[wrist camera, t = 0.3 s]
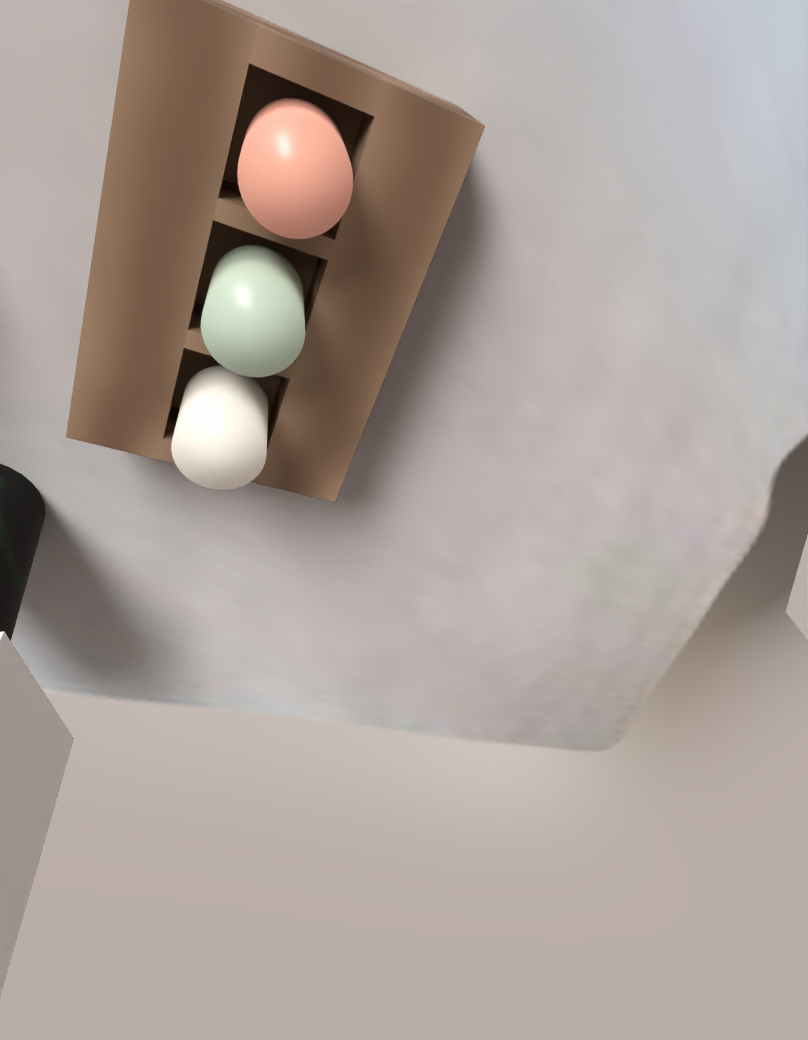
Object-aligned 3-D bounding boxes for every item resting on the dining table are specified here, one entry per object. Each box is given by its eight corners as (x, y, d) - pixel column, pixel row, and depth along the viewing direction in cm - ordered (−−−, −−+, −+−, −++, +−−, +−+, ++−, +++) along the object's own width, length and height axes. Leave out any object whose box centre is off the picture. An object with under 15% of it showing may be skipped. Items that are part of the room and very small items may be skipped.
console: (91, 384, 35) (65, 437, 31) (157, -29, 26) (134, -30, 22) (329, 448, 39) (334, 502, 35) (458, 106, 30) (485, 126, 26)
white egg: (175, 427, 32) (163, 477, 29) (193, 354, 30) (181, 399, 27) (256, 448, 33) (253, 499, 30) (278, 379, 31) (277, 424, 28)
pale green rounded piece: (201, 318, 29) (190, 360, 26) (222, 231, 27) (213, 264, 24) (288, 345, 30) (289, 388, 27) (314, 263, 28) (318, 298, 25)
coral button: (232, 187, 26) (225, 216, 23) (258, 80, 24) (253, 95, 21) (327, 222, 27) (332, 254, 24) (358, 122, 26) (369, 142, 22)
